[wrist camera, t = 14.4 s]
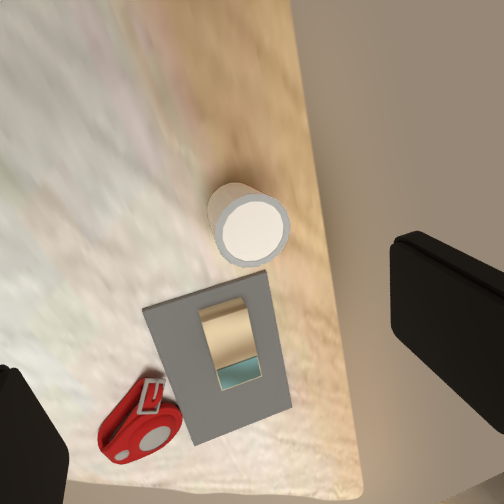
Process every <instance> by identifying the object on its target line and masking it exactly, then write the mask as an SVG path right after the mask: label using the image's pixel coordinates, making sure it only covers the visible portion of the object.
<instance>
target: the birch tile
mask: <svg viewBox="0 0 504 504" xmlns="http://www.w3.org/2000/svg"><path fill="white" fill-rule="evenodd" d="M198 313H199V316H200V319H201V323H202V326H203V330H204V333H205V336H206V340H207V343H208V347H209V350H210V353H211V357H212V360H213V364H214V367H215V370H216V374H217V377H218V380H219V384H220V387H221V390H222V391H223V390H226V389H229V388H232V387H234V386H237V385H240V384H242V383H245V382H248V381H251V380H253V379H256V378H259V377H261V376H262V374H261V369H260V365H259V360H258V356H257V351H256V347H255V342H254V338H253V333H252V328H251V324H250V319H249V315H248V310H247V307H246V305H245V303H244V302H243V300H242V298H241V297H238V298H235V299H232V300H229V301H226V302H222V303H219V304H216V305H213V306H210V307H207V308H204V309H201V310H198Z"/></svg>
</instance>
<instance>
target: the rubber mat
mask: <svg viewBox="0 0 504 504" xmlns="http://www.w3.org/2000/svg"><path fill="white" fill-rule="evenodd" d="M238 297H241V298H242V300H243V302H244V303H245V305H246V307H247V310H248V315H249V319H250V324H251V328H252V333H253V338H254V342H255V347H256V351H257V356H258V360H259V365H260V369H261V374H262V376H261V377H259V378H256V379H253V380H251V381H248V382H245V383H242V384H240V385H237V386H234V387H232V388H229V389H226V390H223V391H222V390H221V387H220V384H219V380H218V377H217V374H216V370H215V367H214V364H213V360H212V357H211V353H210V350H209V347H208V343H207V340H206V336H205V333H204V330H203V326H202V323H201V319H200V316H199V313H198V310H201V309H204V308H207V307H210V306H213V305H216V304H219V303H222V302H226V301H229V300H232V299H235V298H238ZM142 312H143V315H144V318H145V320H146V323H147V325H148V328H149V330H150V333H151V336H152V338H153V341H154V343H155V346H156V348H157V351H158V354H159V356H160V359H161V361H162V364H163V367H164V369H165V372H166V374H167V377H168V379H169V382H170V385H171V387H172V390H173V392H174V395H175V397H176V400H177V403H178V405H179V408H180V410H181V413H182V415H183V418H184V421H185V423H186V426H187V428H188V431H189V433H190V436H191V439H192V441H193V444H194V446H196V445H199V444H201V443H204V442H206V441H209V440H211V439H214V438H216V437H219V436H222V435H224V434H227V433H229V432H232V431H234V430H237V429H239V428H242V427H244V426H247V425H249V424H252V423H254V422H257V421H259V420H262V419H264V418H267V417H269V416H272V415H274V414H277V413H279V412H282V411H285V410H287V409H290V408H292V403H291V398H290V393H289V387H288V382H287V377H286V372H285V366H284V361H283V356H282V351H281V345H280V340H279V335H278V330H277V324H276V319H275V314H274V309H273V303H272V298H271V293H270V287H269V282H268V277H267V272H266V271H265V270H263V271H260V272H257V273H254V274H251V275H248V276H245V277H241V278H238V279H235V280H232V281H229V282H226V283H223V284H219V285H216V286H213V287H210V288H207V289H204V290H201V291H197V292H194V293H191V294H188V295H185V296H182V297H179V298H175V299H172V300H169V301H166V302H163V303H160V304H156V305H153V306H150V307H147V308H144V309H142Z"/></svg>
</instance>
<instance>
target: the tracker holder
mask: <svg viewBox="0 0 504 504" xmlns="http://www.w3.org/2000/svg"><path fill="white" fill-rule="evenodd" d="M165 382H166V380H165V379H157V378H143V379H141V380H139V381H138V382H137V383H136V384H135V386H134V387H133V388H132V389H131V390H130V391H129V393H128V394H127V395H126V396H125V397H124V399H123V400H122V401H121V402H120V403H119V405H118V406H117V407H116V408H115V409H114V411H113V412H112V413H111V414H110V415H109V417H108V418H107V419H106V420H105V421H104V423H103V424H102V426H101V428H100V430H99V433H98V446H99V449H100V451H101V452H102V453H103V454H104V455H105V456H106V457H107V458H108V459H109V460H110V461H112V462H113V463H116V464H127V463H130V462H133V461H135V460H138V459H141V458H143V457H145V456H147V455H150V454H152V453H154V452H156V451H157V450H159V449H161V448H162V447H164V446H165V445H166V444H167V443H169V442H170V441H171V440H172V439H173V437H174V436H175V435H176V434H177V432H178V431H179V429H180V427H181V424H182V418H183V417H182V413H181V412H180V410H179V409H178V408H177V406H175V405H173V404H170V403H161V399H162V395H163V390H164V386H165ZM139 400H140V402H139V403H138V404H137V402H138V401H139ZM136 404H137V406H136V407H135V408H134V410H133V411H132V413H131V414H130V415H129V417H128V418H127V420H126V421H125V423H124V424H123V425H122V427H121V428H120V430H119V431H118V432H117V434H116V435H115V437H114V438H113V439H112V440H111V441H110V438H111V435H112V434H113V432H114V431H115V430H116V428H117V427H118V426H119V425H120V423H121V422H122V421H123V420H124V418H125V417H126V416H127V415H128V413H129V412H130V411H131V410H132V408H133V407H134V406H135V405H136ZM109 441H110V443H109Z"/></svg>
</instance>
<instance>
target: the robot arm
mask: <svg viewBox="0 0 504 504" xmlns="http://www.w3.org/2000/svg"><path fill="white" fill-rule="evenodd" d="M390 300H391V301H390V302H391V303H390V306H391V328H392V330H393V333H394V334H395V336H396V337H397V338H398V339H399V340H400V341H401V342H402V343H403V344H404V345H406V346H407V347H408V348H409V349H410V350H411V351H412V352H413V353H414V354H415V355H416V356H417V357H418V358H419V359H421V360H422V361H423V362H424V363H425V364H426V365H427V366H428V367H429V368H430V369H431V370H432V371H433V372H435V374H437V375H438V376H439V377H440V378H441V379H442V380H443V381H444V382H445V383H447V385H448V386H449V387H450V388H452V389H453V390H454V391H455V392H456V393H457V394H458V395H459V396H460V397H461V398H462V399H463V400H464V401H465V402H466V403H468V404H469V405H470V406H471V407H472V408H473V409H474V410H475V411H476V412H477V413H478V414H479V415H481V416H482V417H483V418H484V419H485V420H486V421H487V422H488V423H489V424H490V425H491V426H492V427H493V428H494V429H496V430H497V431H498V432H500V433H502V434H504V272H502V271H499V270H497V269H495V268H493V267H491V266H489V265H487V264H485V263H483V262H481V261H479V260H477V259H475V258H473V257H471V256H469V255H467V254H465V253H463V252H461V251H459V250H457V249H455V248H453V247H451V246H449V245H447V244H445V243H443V242H441V241H439V240H437V239H435V238H433V237H431V236H429V235H427V234H425V233H423V232H420V231H414V232H410V233H407V234H405V235H401V236H398V237H397V238H395V240H394V244H392V245H391V246H390ZM68 466H69V452H68V448H67V446H66V444H65V442H64V441H63V439H62V438H61V436H60V434H59V433H58V431H57V430H56V428H55V426H54V425H53V423H52V422H51V420H50V419H49V417H48V415H47V414H46V412H45V411H44V409H43V407H42V406H41V404H40V403H39V401H38V399H37V398H36V396H35V395H34V393H33V391H32V390H31V388H30V387H29V385H28V384H27V382H26V380H25V379H24V377H23V376H22V374H21V372H20V371H19V370H18V369H17V368H11V369H10V368H9V367H8V366H6V365H0V504H63V498H64V491H65V485H66V479H67V473H68ZM438 504H504V472H503V473H501V474H499V475H497V476H495V477H492V478H490V479H488V480H486V481H484V482H482V483H480V484H478V485H476V486H474V487H472V488H470V489H467V490H465V491H463V492H461V493H459V494H457V495H455V496H453V497H451V498H449V499H447V500H445V501H442V502H440V503H438Z"/></svg>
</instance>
